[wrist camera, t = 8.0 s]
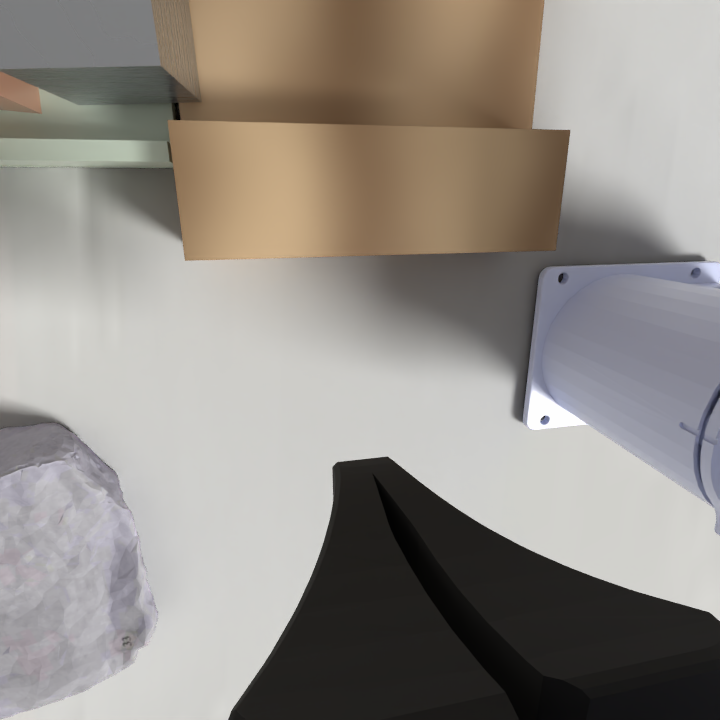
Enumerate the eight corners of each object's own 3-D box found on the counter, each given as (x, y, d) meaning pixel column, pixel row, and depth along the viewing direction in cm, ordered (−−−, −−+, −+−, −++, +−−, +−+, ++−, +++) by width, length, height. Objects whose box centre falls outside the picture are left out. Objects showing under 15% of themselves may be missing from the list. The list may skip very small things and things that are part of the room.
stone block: (89, 385, 20) (-184, 482, 18) (71, 428, 16) (-293, 565, 13) (190, 574, 25) (-14, 676, 22) (197, 647, 21) (-56, 784, 18)
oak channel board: (546, -174, 16) (620, -277, 12) (508, 244, 20) (555, 250, 17) (143, -238, 13) (103, -385, 10) (200, 251, 18) (185, 260, 14)
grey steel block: (182, -45, 14) (129, -140, 10) (201, 102, 15) (160, 66, 11) (48, -44, 14) (-58, -141, 10) (78, 105, 15) (-5, 69, 11)
